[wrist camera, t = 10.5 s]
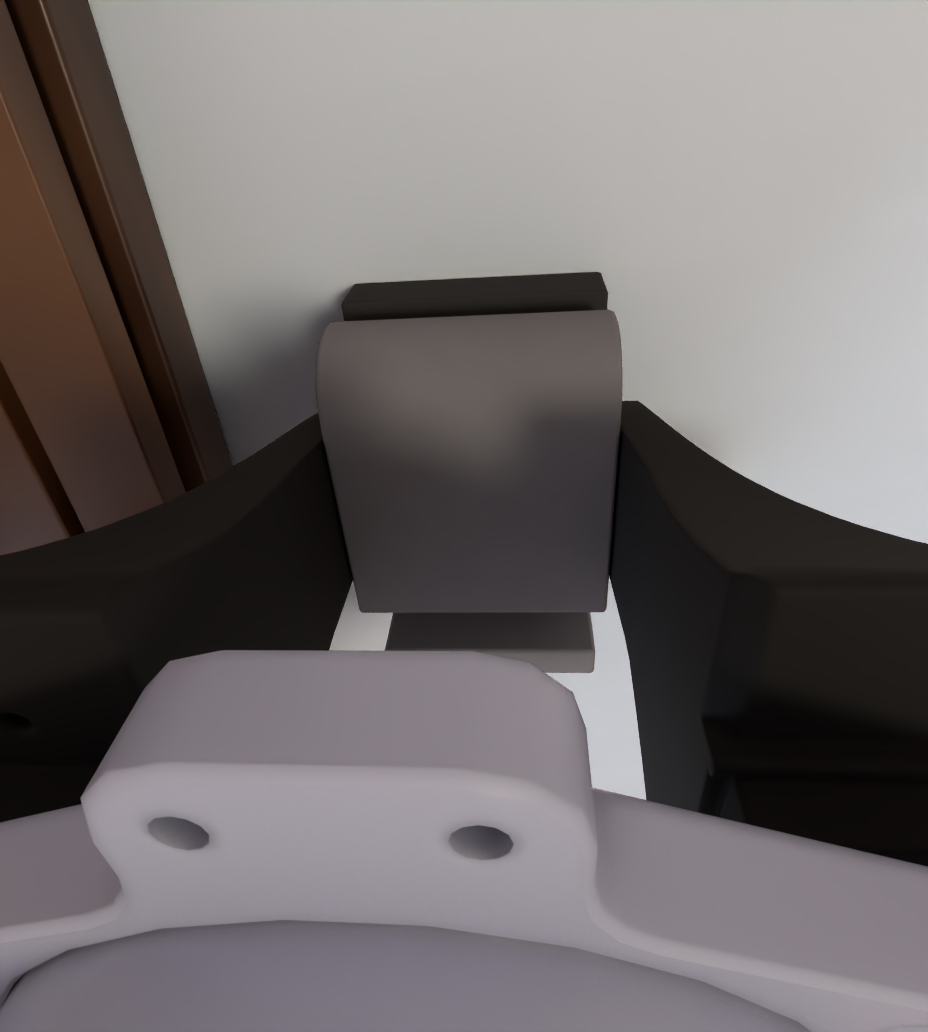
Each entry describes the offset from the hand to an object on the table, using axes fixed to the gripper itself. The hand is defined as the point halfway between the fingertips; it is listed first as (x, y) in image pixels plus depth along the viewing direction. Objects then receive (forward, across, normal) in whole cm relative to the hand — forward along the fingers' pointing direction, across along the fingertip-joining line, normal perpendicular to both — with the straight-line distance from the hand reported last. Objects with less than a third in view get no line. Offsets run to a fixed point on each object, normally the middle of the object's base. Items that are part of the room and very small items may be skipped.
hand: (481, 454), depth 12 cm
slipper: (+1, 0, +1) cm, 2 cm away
